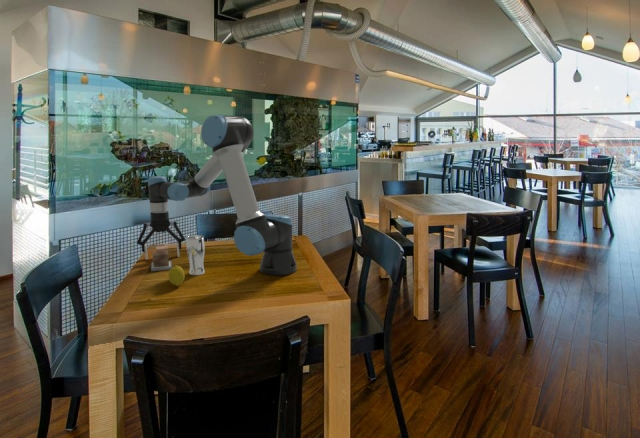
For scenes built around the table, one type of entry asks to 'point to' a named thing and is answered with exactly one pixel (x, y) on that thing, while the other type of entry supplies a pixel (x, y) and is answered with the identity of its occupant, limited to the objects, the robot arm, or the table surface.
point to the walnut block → (160, 258)
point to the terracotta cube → (162, 249)
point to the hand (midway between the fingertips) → (162, 257)
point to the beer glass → (196, 254)
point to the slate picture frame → (161, 267)
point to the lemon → (176, 275)
